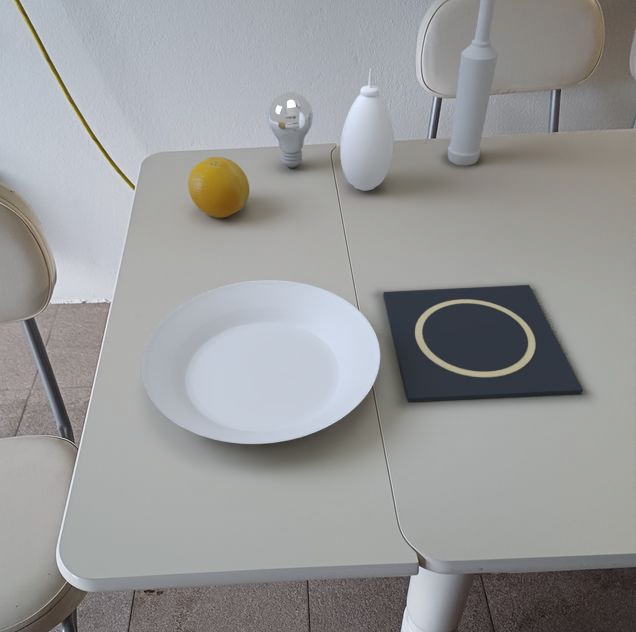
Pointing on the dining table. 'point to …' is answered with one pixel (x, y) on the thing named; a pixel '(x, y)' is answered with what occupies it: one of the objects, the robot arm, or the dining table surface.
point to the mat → (476, 344)
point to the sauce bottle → (367, 140)
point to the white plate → (260, 361)
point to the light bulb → (290, 125)
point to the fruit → (218, 187)
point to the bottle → (473, 91)
